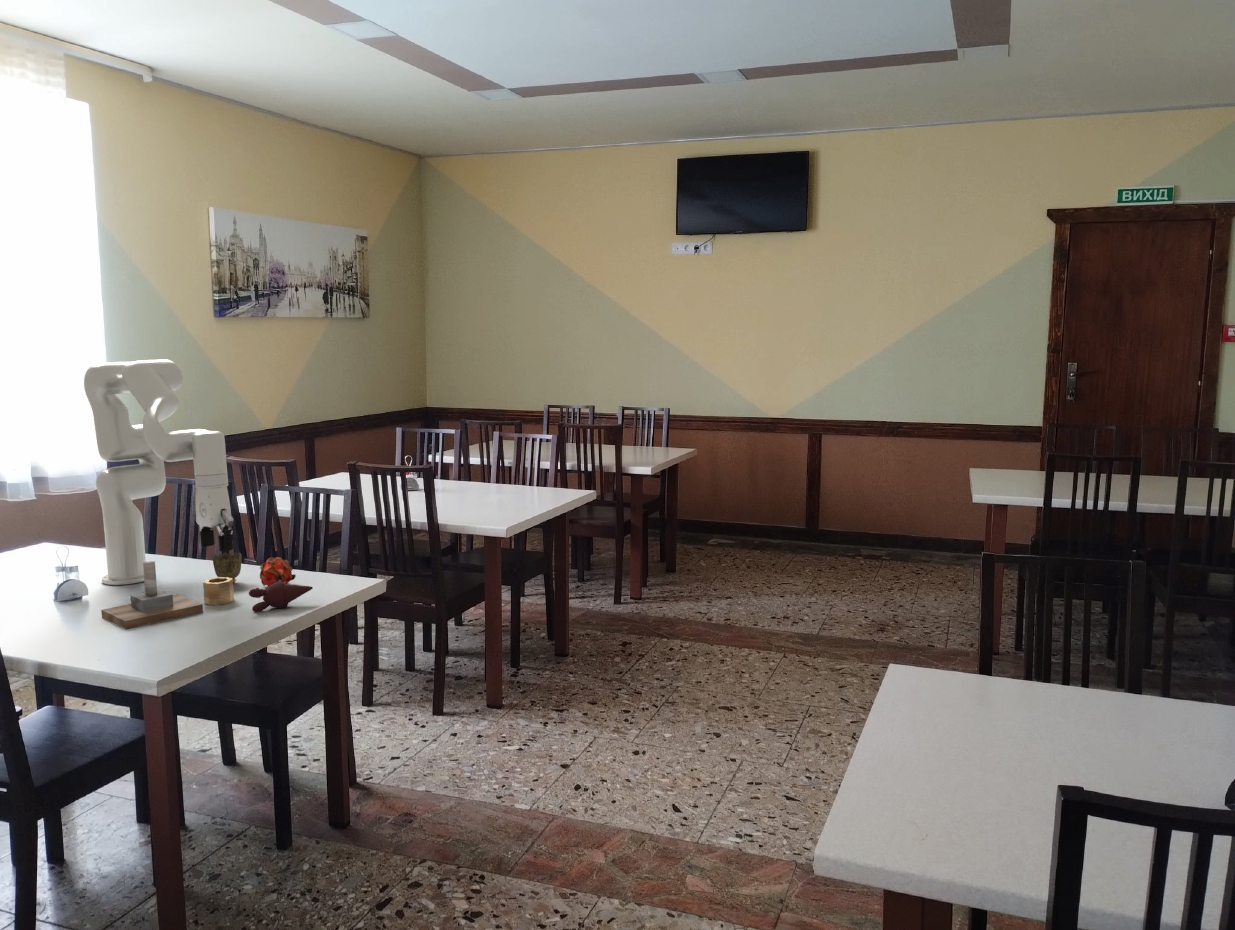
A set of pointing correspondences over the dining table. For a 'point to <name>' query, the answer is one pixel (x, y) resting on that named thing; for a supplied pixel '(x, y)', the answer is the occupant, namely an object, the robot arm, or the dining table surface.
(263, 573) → the dragon fruit
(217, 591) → the hub
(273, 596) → the icecream
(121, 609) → the shaft stand
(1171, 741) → the dining table surface
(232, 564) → the cup
